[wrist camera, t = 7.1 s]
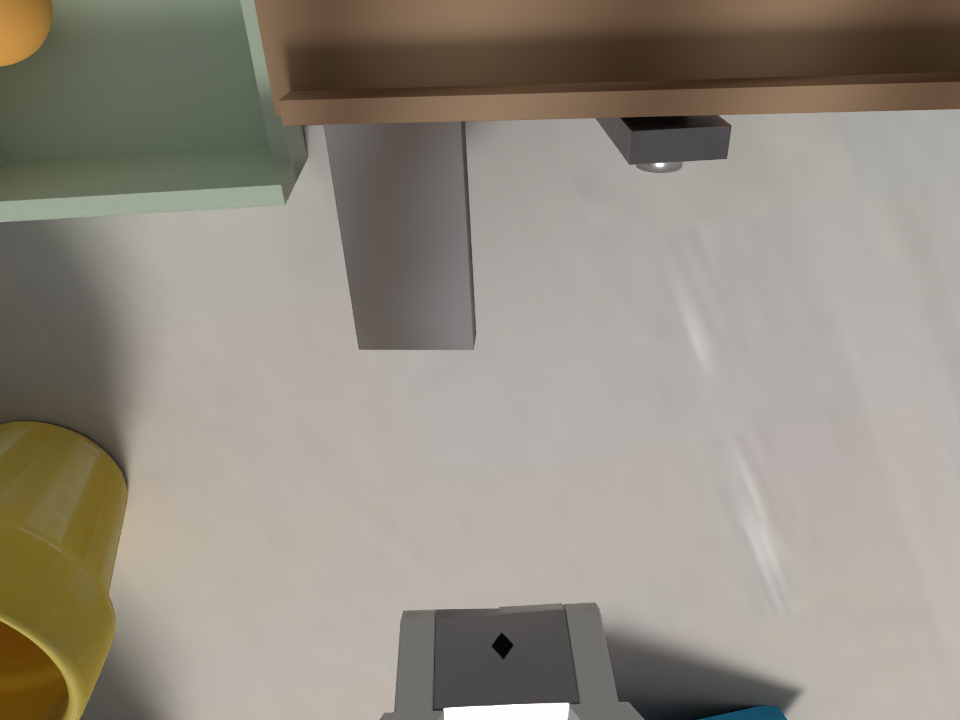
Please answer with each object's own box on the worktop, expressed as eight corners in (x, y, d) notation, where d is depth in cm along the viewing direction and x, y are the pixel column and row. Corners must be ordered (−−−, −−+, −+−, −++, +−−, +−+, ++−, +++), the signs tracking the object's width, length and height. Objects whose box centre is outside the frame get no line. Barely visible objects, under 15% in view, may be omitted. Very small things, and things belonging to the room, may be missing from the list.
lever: (1178, -211, 15) (1338, -236, 12) (975, 331, 22) (1044, 401, 19) (243, -156, 17) (176, -165, 14) (329, 331, 24) (298, 395, 21)
